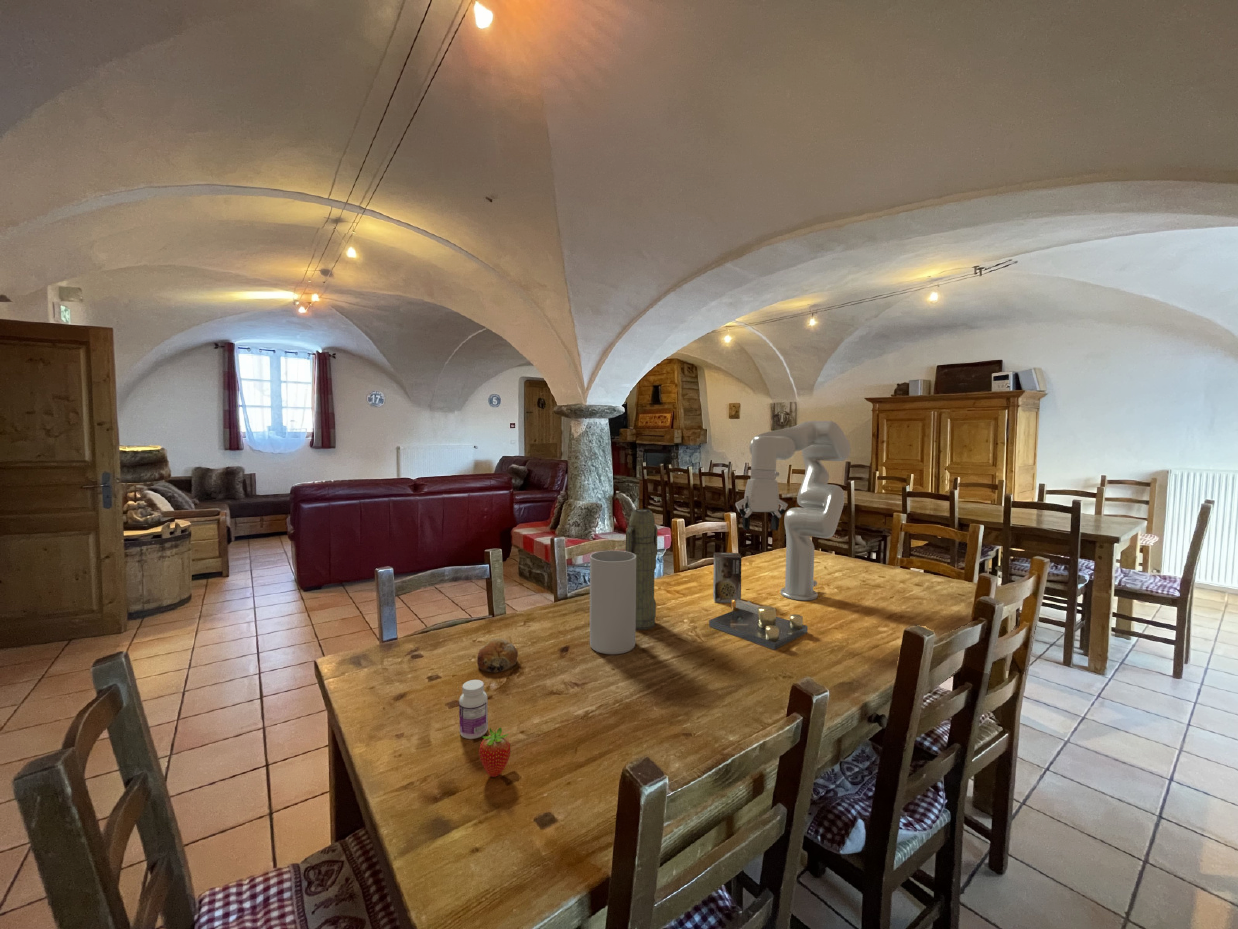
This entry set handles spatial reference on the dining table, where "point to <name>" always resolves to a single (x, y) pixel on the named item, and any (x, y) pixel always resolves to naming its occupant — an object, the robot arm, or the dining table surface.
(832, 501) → the robot arm
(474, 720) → the pill bottle
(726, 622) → the base
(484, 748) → the fruit
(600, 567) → the cylinder vase
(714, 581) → the coffee box
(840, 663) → the dining table surface
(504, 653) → the bread roll
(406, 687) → the dining table surface
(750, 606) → the ball-ended bar
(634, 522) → the stone statue
